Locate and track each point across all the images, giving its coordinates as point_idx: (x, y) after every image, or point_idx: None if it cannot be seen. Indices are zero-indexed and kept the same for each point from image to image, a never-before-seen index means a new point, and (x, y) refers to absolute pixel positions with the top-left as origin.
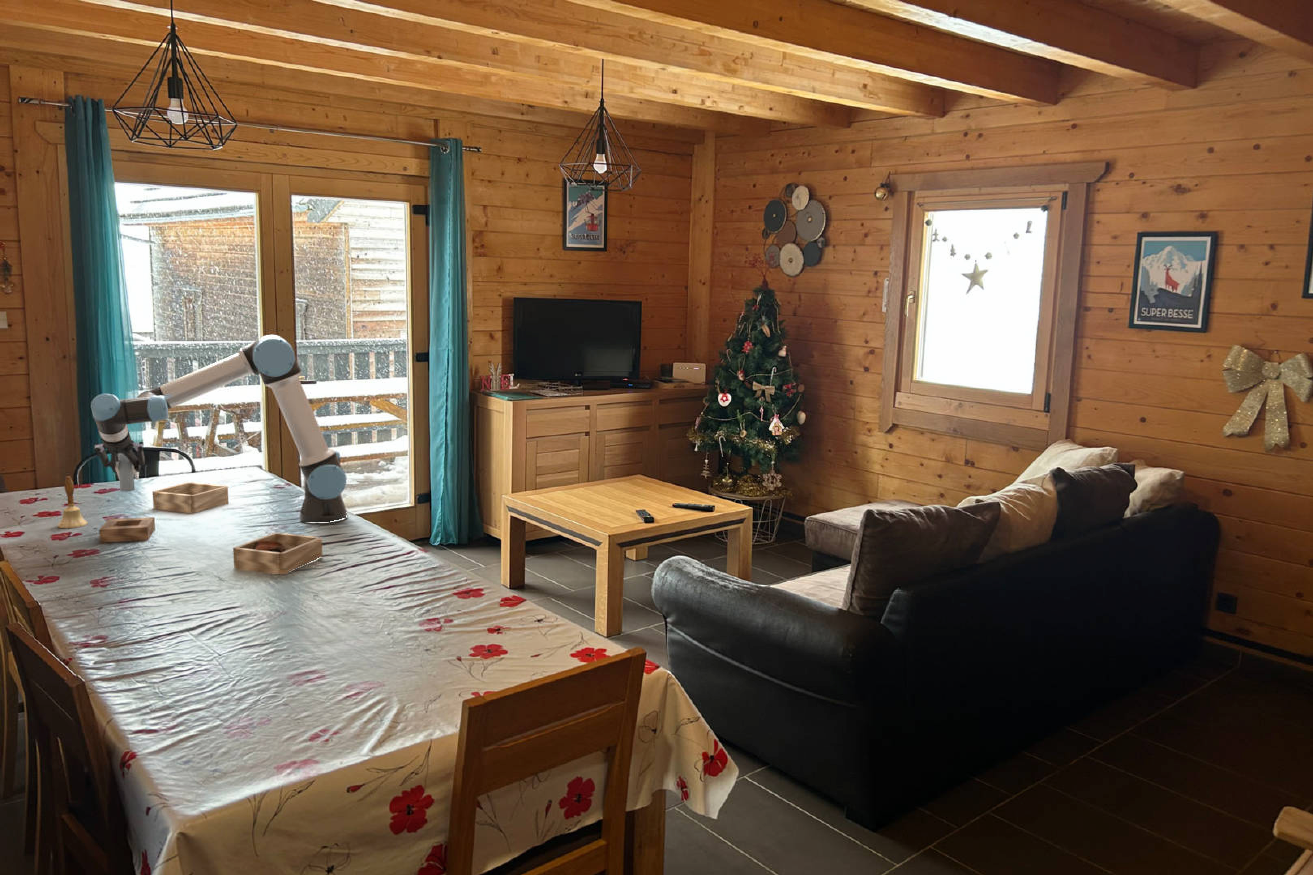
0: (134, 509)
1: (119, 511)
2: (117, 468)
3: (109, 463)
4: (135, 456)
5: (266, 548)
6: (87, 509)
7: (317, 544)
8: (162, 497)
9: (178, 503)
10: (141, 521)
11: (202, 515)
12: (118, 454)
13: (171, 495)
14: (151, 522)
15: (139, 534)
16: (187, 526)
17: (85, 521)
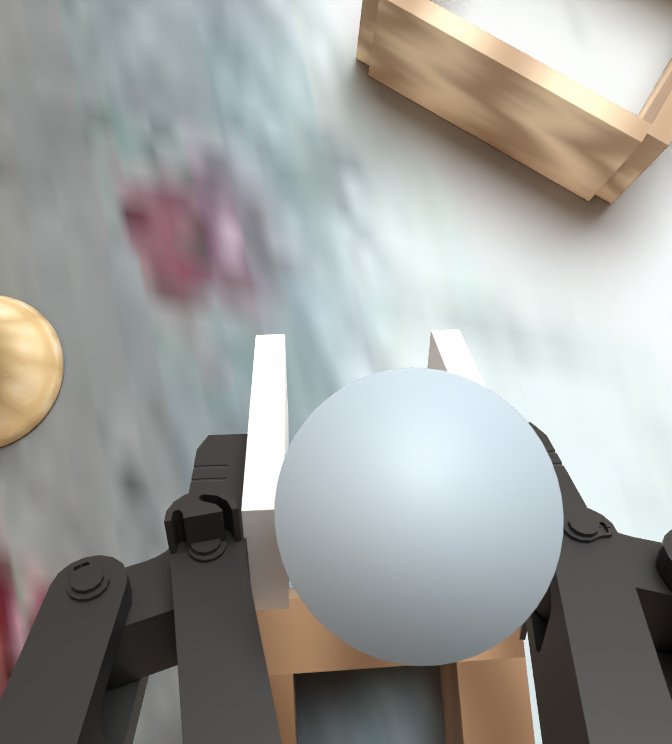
0: (257, 60)
1: (185, 91)
2: (281, 604)
3: (158, 656)
4: (655, 686)
5: None
6: (3, 14)
7: None
8: (431, 50)
9: (530, 129)
10: (465, 717)
11: (667, 268)
12: (300, 596)
13: (500, 72)
14: (529, 719)
15: None
16: (661, 532)
17: (47, 361)
